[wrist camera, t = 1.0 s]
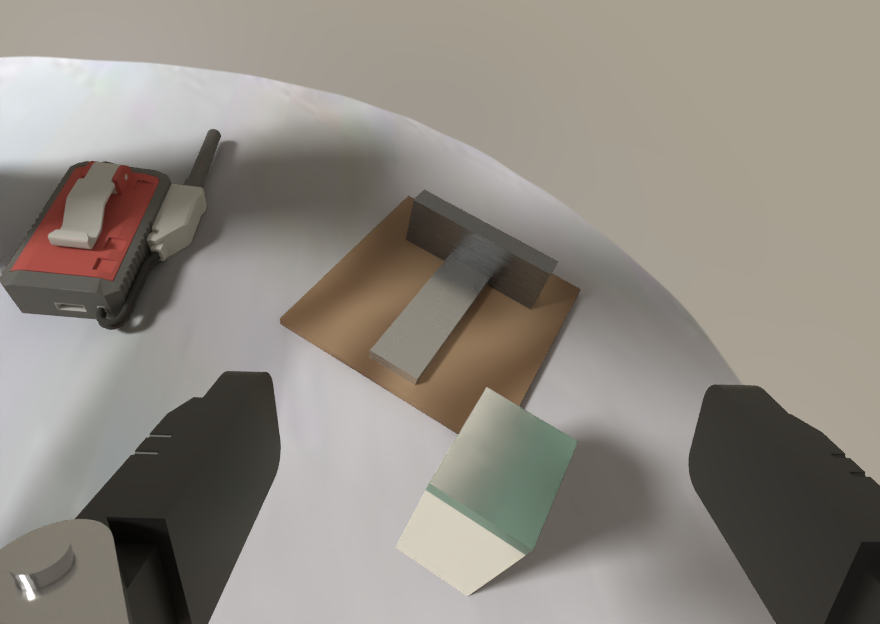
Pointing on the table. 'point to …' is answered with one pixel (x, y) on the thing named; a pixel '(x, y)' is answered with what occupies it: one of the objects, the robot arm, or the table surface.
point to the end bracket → (479, 248)
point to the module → (488, 495)
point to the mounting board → (465, 352)
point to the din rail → (429, 320)
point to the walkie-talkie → (105, 238)
